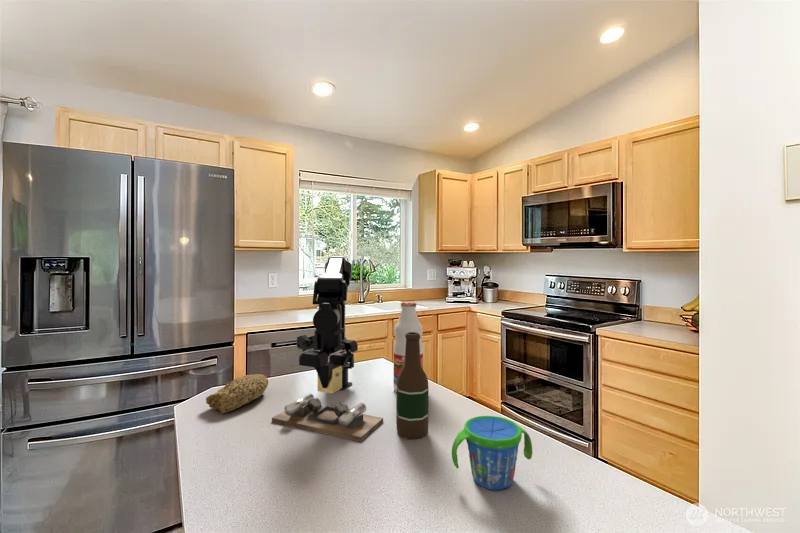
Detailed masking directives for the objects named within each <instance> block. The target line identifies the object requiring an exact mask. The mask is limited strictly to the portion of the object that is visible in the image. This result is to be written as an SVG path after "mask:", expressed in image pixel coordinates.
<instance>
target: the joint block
mask: <svg viewBox="0 0 800 533" xmlns="http://www.w3.org/2000/svg"><path fill="white" fill-rule="evenodd" d="M341 388H342V365H337V364H333V367H332V371H331V375H330V379H329V383H328V386H327V388H323V387H322V384H321V382H320V379H319V376H318V375H317V392H321V393H327V394H334V393H336V392H338V391H339V389H341Z"/></svg>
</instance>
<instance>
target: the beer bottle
mask: <svg viewBox="0 0 800 533" xmlns="http://www.w3.org/2000/svg"><path fill="white" fill-rule="evenodd" d="M405 338H406V349H405V361H404V366H403V368H402V369H401V371H400V372H399V375H398V378H397V392H396V400H395V401H396V421H395V422H396V423H395V424H396V431H397V434H398V436H399V437H400V438H403V439H406V440H417V439H418V440H420V439H419V438H421V439H423V438H424V437H425V436H427V434H428V432H429V388H430V387H429V380H428V376H427V374H426V372H425V370H424V368H423V369H422V367H421V361H420V344H419V339H420V338H421V339H422V337H420V334H419V333H416V332H409V333H406V335H405ZM423 436H424V437H423Z"/></svg>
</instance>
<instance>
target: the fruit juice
mask: <svg viewBox="0 0 800 533" xmlns="http://www.w3.org/2000/svg"><path fill="white" fill-rule="evenodd" d="M400 308H401V311H400V314H399V317H398V319H397V322H396V323H395V326H394V329H393V330H394V331H393V332H394V337H395V341H394V343H393V389H394V391H395V392H396V393H397V378H398V375H399V372H400V371H401V369H402V368H403V366H404V361H405V349H406V338H405V335H406V333H409V332H416V333H419V334H420V337H421V338H420V339H419V344H420V361H421V367H422V369H423V370H424V345H423V344H424V343H423V342H422V338H423V333H424V331H423V328H424V327H423V325H422V324H421V322H420V319H419V317H418V314H417V313H418V312H417V311H416V308H417V302H415V301H402V302H400Z"/></svg>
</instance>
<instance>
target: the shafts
mask: <svg viewBox="0 0 800 533" xmlns="http://www.w3.org/2000/svg"><path fill="white" fill-rule="evenodd" d="M307 403H308V408H309V410H310V411H311V412H313V413H316V412H318V411H319V410H320V409H321V406H322V401H321V400H320V399H319V398H318V397H315V396H314V394H312V393H307V394H306V395H304V396H302V397H299V398H298V399H296V400H294V401H292V402H290V403H288V404H287V405H285V406H284V408H283V409H284V411H285V413H286V414H287V415H288V416H290V415H292V414H294V413H296V412H297V411H299V410H300V407H302V406H304V405H305V404H307ZM334 407H335V409H334V411H335V414H336V415H337V417H339V419H338V423H339V425H340V426H342V427H346V426H347V425H348V424H350V423H351V422H352V420H353V419H354V418H355V417H356V416H358V415H359V414H360V413H361V414H364V413H365V412H366V411H367V406H366V404H365V403H363V402H358V403H357V404H356V405H354V406H353V407H352V408H349V406H348V405H347V403H346V402H344V401H342V402H339V403H337V404H336V405H335V406H334ZM349 409H350V410H349Z"/></svg>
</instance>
